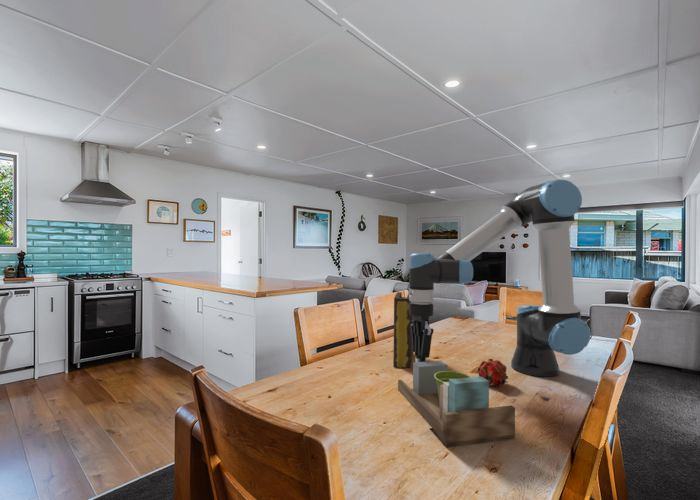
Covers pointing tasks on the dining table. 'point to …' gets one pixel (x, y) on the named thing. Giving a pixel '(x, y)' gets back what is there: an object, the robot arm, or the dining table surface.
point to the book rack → (463, 412)
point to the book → (402, 332)
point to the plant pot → (447, 378)
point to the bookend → (426, 376)
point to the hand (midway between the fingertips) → (420, 377)
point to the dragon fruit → (493, 372)
